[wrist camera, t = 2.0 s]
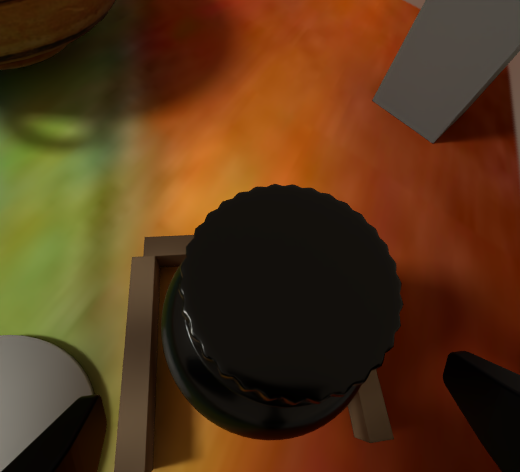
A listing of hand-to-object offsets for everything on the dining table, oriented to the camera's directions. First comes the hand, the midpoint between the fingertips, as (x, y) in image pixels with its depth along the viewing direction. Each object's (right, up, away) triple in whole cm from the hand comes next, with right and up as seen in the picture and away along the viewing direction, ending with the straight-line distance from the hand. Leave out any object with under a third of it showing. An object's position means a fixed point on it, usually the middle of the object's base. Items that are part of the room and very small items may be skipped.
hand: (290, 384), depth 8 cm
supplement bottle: (-1, -3, +9) cm, 10 cm away
